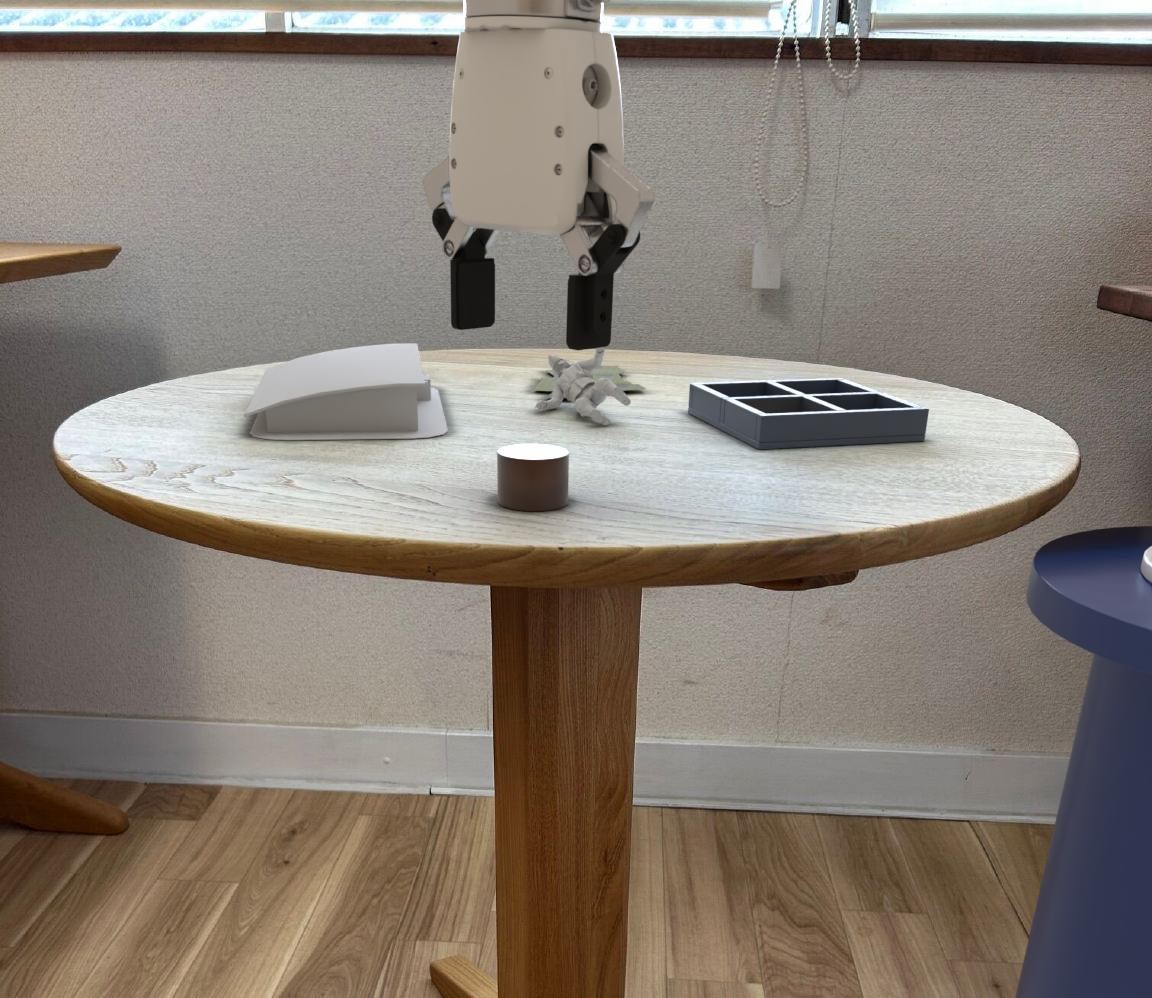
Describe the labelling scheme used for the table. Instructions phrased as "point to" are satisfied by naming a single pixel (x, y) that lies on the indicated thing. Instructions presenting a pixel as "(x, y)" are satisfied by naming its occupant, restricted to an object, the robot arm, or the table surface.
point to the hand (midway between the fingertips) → (528, 337)
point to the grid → (806, 413)
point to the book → (348, 396)
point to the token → (532, 477)
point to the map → (598, 373)
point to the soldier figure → (582, 387)
